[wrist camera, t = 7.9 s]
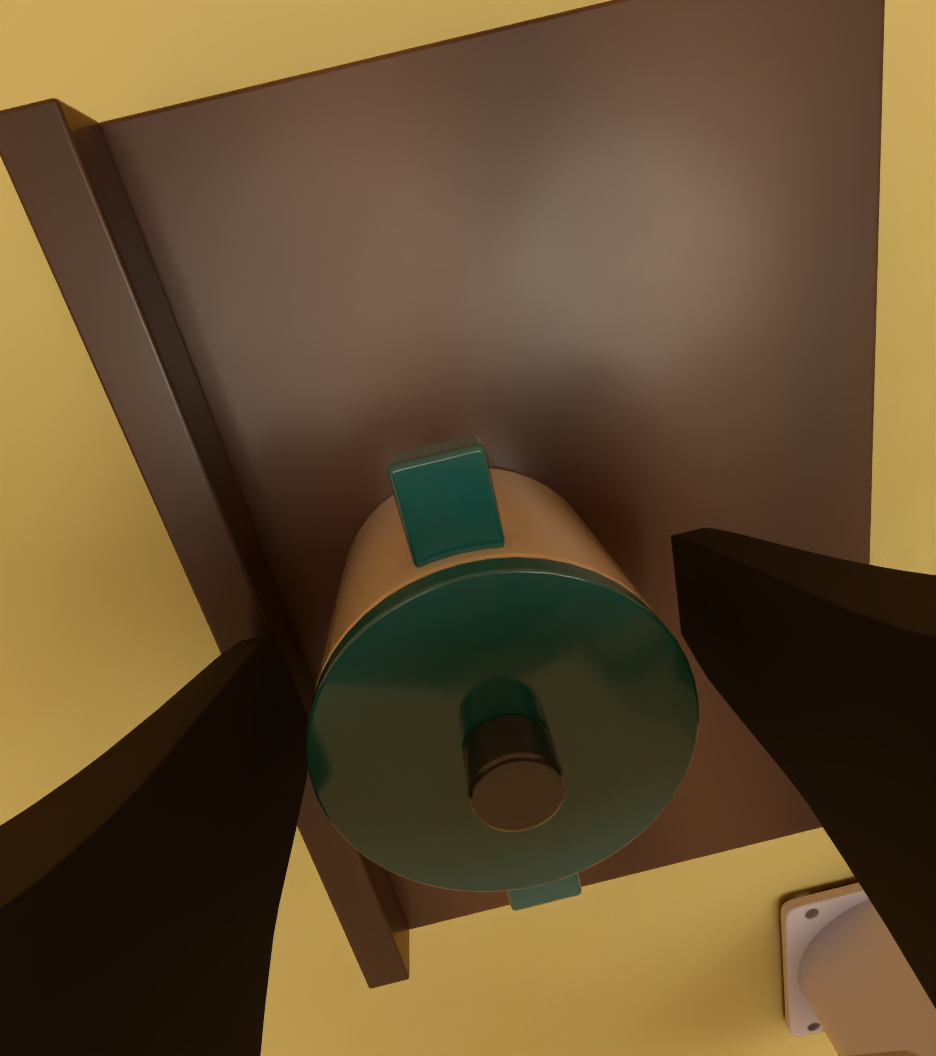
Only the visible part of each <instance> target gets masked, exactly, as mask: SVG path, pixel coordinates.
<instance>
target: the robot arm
mask: <svg viewBox="0 0 936 1056" xmlns="http://www.w3.org/2000/svg"><path fill="white" fill-rule="evenodd" d="M671 544H672V553H673V562H674V572H675V581H676V590H677V600H678V609H679V618H680V628H681V635H682V636H683V638H684V640H685V642H686V643H687V645H688V647H689V649H690V650H691V652H692V654H693V655H694V657H695V659H696V661H697V662H698V664H699V665H700V667H701V669H702V670H703V672H704V673H705V675H706V677H707V678H708V680H709V681H710V682H711V683H712V685H713V686H714V687H715V689H716V690H717V691H718V692H719V694H720V695H721V696H722V697H723V699H724V700H725V701H726V702H727V704H728V705H729V706H730V707H731V708H732V710H733V711H734V712H735V713H736V715H737V716H738V717H739V718H740V720H741V721H742V722H743V723H744V724H745V726H746V727H747V728H748V729H749V731H750V732H751V733H752V734H753V735H754V737H755V738H756V739H757V740H758V742H759V743H760V744H761V745H762V747H763V748H764V749H765V750H766V751H767V753H768V754H769V755H770V756H771V758H772V759H773V760H774V761H775V762H776V764H777V765H778V766H779V767H780V769H781V770H782V771H783V772H784V773H785V775H786V776H787V777H788V778H789V780H790V781H791V782H792V784H793V785H794V786H795V788H796V789H797V790H798V792H799V793H800V794H801V796H802V797H803V798H804V800H805V801H806V802H807V804H808V805H809V807H810V808H811V810H812V811H813V813H814V814H815V816H816V818H817V819H818V821H819V822H820V824H821V825H822V827H823V828H824V830H825V831H826V833H827V834H828V836H829V837H830V839H831V840H832V842H833V843H834V845H835V846H836V848H837V849H838V851H839V852H840V854H841V855H842V857H843V858H844V860H845V862H846V863H847V865H848V866H849V868H850V870H851V871H852V873H853V874H854V876H855V877H856V879H857V881H858V883H854V884H850V885H846V886H842V887H838V888H834V889H830V890H826V891H822V892H818V893H814V894H810V895H806V896H802V897H798V898H794V899H791V900H788V901H787V902H785V903H784V904H783V906H782V908H781V930H782V953H783V975H784V998H785V1020H786V1026H787V1028H788V1029H789V1031H790V1033H791V1034H792V1035H793V1036H797V1037H800V1036H805V1035H809V1034H813V1033H817V1032H821V1031H825V1032H826V1034H827V1036H828V1038H829V1039H830V1041H831V1043H832V1045H833V1047H834V1048H835V1050H836V1052H837V1054H838V1055H839V1056H936V575H929V574H922V573H915V572H908V571H902V570H896V569H890V568H884V567H879V566H874V565H869V564H864V563H859V562H854V561H849V560H844V559H839V558H835V557H831V556H826V555H822V554H818V553H813V552H809V551H805V550H801V549H797V548H793V547H789V546H785V545H781V544H777V543H774V542H770V541H766V540H762V539H758V538H754V537H750V536H746V535H742V534H738V533H734V532H729V531H725V530H720V529H714V528H705V527H704V528H700V529H696V530H692V531H688V532H684V533H680V534H675V535H671ZM307 725H308V717H307V714H306V712H305V709H304V707H303V704H302V701H301V699H300V696H299V694H298V691H297V689H296V686H295V684H294V681H293V679H292V676H291V674H290V671H289V669H288V666H287V664H286V661H285V659H284V656H283V654H282V651H281V649H280V646H279V644H278V641H277V639H276V636H275V634H274V633H271V634H267V635H263V636H259V637H255V638H250V639H246V640H242V641H240V642H238V643H236V644H235V645H233V646H232V647H231V648H229V649H228V650H227V651H225V652H224V653H223V654H221V655H220V656H219V657H218V658H217V659H215V660H214V661H213V662H212V663H211V664H209V665H208V666H207V667H206V668H205V669H204V670H202V671H201V672H200V673H199V674H198V675H197V676H196V677H194V678H193V679H192V680H191V681H190V682H189V683H188V684H186V685H185V686H184V687H183V688H182V689H181V690H179V691H178V692H177V693H176V694H175V695H174V696H173V697H171V698H170V699H169V700H168V701H167V702H166V703H165V704H163V705H162V706H161V707H160V708H159V709H158V710H156V711H155V712H154V713H153V714H152V715H150V716H149V717H148V718H147V719H146V720H144V721H143V722H142V723H141V724H139V725H138V726H137V727H136V728H135V729H133V730H132V731H131V732H130V733H128V734H127V735H126V736H125V737H124V738H122V739H121V740H120V741H119V742H117V743H116V744H115V745H114V746H112V747H111V748H110V749H109V750H108V751H106V752H105V753H104V754H103V755H101V756H100V757H99V758H97V759H96V760H95V761H93V762H92V763H91V764H90V765H88V766H87V767H85V768H84V769H83V770H81V771H80V772H79V773H77V774H76V775H75V776H73V777H72V778H71V779H69V780H68V781H66V782H65V783H63V784H62V785H61V786H59V787H58V788H56V789H55V790H53V791H52V792H51V793H49V794H48V795H46V796H45V797H43V798H42V799H41V800H39V801H38V802H36V803H35V804H33V805H32V806H30V807H29V808H27V809H26V810H24V811H23V812H21V813H20V814H18V815H16V816H15V817H13V818H12V819H10V820H8V821H7V822H5V823H4V824H2V825H0V1056H260V1053H261V1043H262V1033H263V1022H264V1012H265V1002H266V994H267V986H268V977H269V969H270V961H271V952H272V944H273V936H274V930H275V924H276V919H277V913H278V908H279V903H280V898H281V894H282V889H283V885H284V880H285V876H286V871H287V867H288V863H289V858H290V854H291V849H292V845H293V840H294V836H295V831H296V827H297V823H298V818H299V813H300V809H301V804H302V799H303V795H304V790H305V785H306V780H307V773H308V765H307V758H306V730H307Z"/></svg>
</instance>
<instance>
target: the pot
mask: <svg viewBox="0 0 936 1056" xmlns="http://www.w3.org/2000/svg"><path fill="white" fill-rule="evenodd" d="M388 476H389V480H390V483H391V487H392V490H393V495H392V496H391V497H389V498H388V499H387V500H386V501H384V502H383V503H382V504H381V505H380V506H379V507H378V508H377V509H376V510H375V511H374V512H373V513H372V514H371V515H370V516H369V517H368V518H367V520H366V521H365V523H364V524H363V526H362V527H361V528H360V530H359V531H358V533H357V535H356V537H355V539H354V541H353V543H352V544H351V546H350V549H349V552H348V555H347V558H346V561H345V564H344V568H343V572H342V576H341V581H340V585H339V589H338V594H337V598H336V602H335V606H334V611H333V615H332V619H331V623H330V628H329V632H328V636H327V640H326V645H325V649H324V653H323V657H322V662H321V666H320V670H319V675H318V679H317V683H316V687H315V693H314V696H313V700H312V704H311V709H310V714H309V719H308V725H307V730H306V758H307V765H308V771H309V776H310V779H311V782H312V785H313V789H314V792H315V795H316V797H317V799H318V801H319V803H320V805H321V807H322V809H323V811H324V813H325V815H326V816H327V817H328V819H329V820H330V821H331V823H332V824H333V826H334V827H335V828H336V830H337V831H338V832H339V833H340V834H341V835H342V836H343V837H344V838H345V839H346V840H347V841H348V842H349V843H350V844H351V845H352V847H354V848H355V849H356V850H358V851H359V852H360V853H362V854H363V855H364V856H365V857H367V858H368V859H369V860H371V861H373V862H374V863H376V864H378V865H380V866H381V867H383V868H385V869H386V870H388V871H390V872H393V873H395V874H397V875H400V876H402V877H404V878H407V879H409V880H412V881H416V882H419V883H422V884H426V885H429V886H434V887H439V888H444V889H449V890H458V891H469V892H498V891H507V894H508V898H509V901H510V905H511V907H512V909H513V910H515V911H517V910H521V909H525V908H529V907H533V906H537V905H541V904H545V903H549V902H553V901H557V900H561V899H565V898H569V897H573V896H577V895H579V894H581V885H580V880H579V876H578V872H581V871H583V870H586V869H588V868H589V867H591V866H593V865H595V864H597V863H599V862H601V861H603V860H605V859H607V858H608V857H610V856H611V855H613V854H614V853H616V852H617V851H619V850H620V849H622V848H623V847H625V846H626V845H627V844H629V843H630V842H631V841H632V840H634V839H635V838H636V837H637V836H638V835H640V834H641V833H642V832H643V831H644V830H645V829H646V828H647V827H648V826H649V825H650V824H651V823H652V822H653V821H654V820H655V819H656V818H657V817H658V816H659V814H660V813H661V812H662V811H663V809H664V808H665V807H666V806H667V804H668V803H669V802H670V801H671V799H672V797H673V796H674V794H675V793H676V791H677V789H678V788H679V786H680V784H681V783H682V781H683V778H684V776H685V774H686V772H687V770H688V767H689V765H690V763H691V759H692V756H693V752H694V749H695V746H696V741H697V734H698V726H699V700H698V695H697V689H696V684H695V679H694V676H693V673H692V670H691V668H690V665H689V662H688V659H687V658H686V656H685V654H684V652H683V650H682V649H681V647H680V645H679V643H678V641H677V640H676V639H675V637H674V636H673V635H672V634H671V632H670V631H669V630H668V628H667V627H666V626H665V625H664V623H663V622H662V621H661V620H660V618H659V617H658V616H657V614H656V613H655V612H654V611H653V609H652V608H651V607H650V605H649V604H648V603H647V602H646V600H645V599H644V598H643V597H642V595H641V594H640V593H639V591H638V590H637V589H636V588H635V586H634V585H633V584H632V583H631V581H630V580H629V579H628V577H627V576H626V575H625V574H624V572H623V571H622V570H621V568H620V567H619V566H618V565H617V563H616V562H615V561H614V560H613V558H612V557H611V556H610V554H609V553H608V552H607V551H606V549H605V548H604V547H603V545H602V544H601V543H600V542H599V540H598V539H597V538H596V537H595V535H594V534H593V533H592V531H591V530H590V529H589V528H588V526H587V525H586V524H585V522H584V521H583V520H582V519H581V517H580V516H579V515H578V514H577V512H576V511H575V510H574V509H573V507H572V506H571V505H570V504H568V503H567V502H566V501H565V500H564V499H563V498H562V497H561V496H560V495H558V494H557V493H556V492H554V491H553V490H551V489H550V488H548V487H547V486H545V485H543V484H541V483H539V482H537V481H536V480H534V479H532V478H529V477H526V476H523V475H520V474H518V473H515V472H510V471H505V470H501V469H493V468H489V464H488V459H487V455H486V450H485V448H484V446H483V444H482V442H481V440H480V438H479V437H478V435H473V434H471V435H467V436H463V437H459V438H455V439H451V440H447V441H443V442H439V443H434V444H430V445H426V446H422V447H418V448H414V449H410V450H406V451H402V452H397V453H394V454H392V455H391V456H389V464H388Z"/></svg>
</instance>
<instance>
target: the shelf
mask: <svg viewBox="0 0 936 1056" xmlns="http://www.w3.org/2000/svg"><path fill="white" fill-rule="evenodd" d="M884 7H885V0H611V1H607V2H603V3H599V4H594V5H590V6H586V7H582V8H578V9H573V10H569V11H565V12H561V13H557V14H552V15H548V16H544V17H540V18H536V19H532V20H527V21H523V22H519V23H515V24H511V25H506V26H502V27H498V28H494V29H490V30H485V31H481V32H477V33H473V34H469V35H464V36H460V37H456V38H452V39H448V40H443V41H439V42H435V43H431V44H427V45H423V46H418V47H414V48H410V49H406V50H402V51H397V52H393V53H389V54H385V55H381V56H376V57H372V58H368V59H364V60H360V61H355V62H351V63H347V64H343V65H339V66H335V67H330V68H326V69H322V70H318V71H314V72H309V73H305V74H301V75H297V76H293V77H288V78H284V79H280V80H276V81H272V82H267V83H263V84H259V85H255V86H251V87H246V88H242V89H238V90H234V91H230V92H226V93H221V94H217V95H213V96H209V97H205V98H200V99H196V100H192V101H188V102H184V103H179V104H175V105H171V106H167V107H163V108H158V109H154V110H150V111H146V112H142V113H138V114H133V115H129V116H125V117H121V118H117V119H112V120H108V121H104V122H100V123H98V122H97V121H95V120H94V119H92V118H90V117H88V116H87V115H85V114H83V113H81V112H79V111H78V110H76V109H74V108H72V107H71V106H69V105H67V104H65V103H63V102H62V101H60V100H58V99H55V98H52V99H47V100H43V101H39V102H35V103H31V104H26V105H22V106H18V107H14V108H10V109H5V110H1V111H0V156H1V158H2V160H3V162H4V165H5V167H6V169H7V171H8V174H9V176H10V178H11V180H12V183H13V185H14V187H15V189H16V192H17V194H18V196H19V199H20V201H21V203H22V205H23V208H24V210H25V212H26V214H27V217H28V219H29V221H30V223H31V226H32V228H33V230H34V232H35V235H36V237H37V239H38V241H39V244H40V246H41V248H42V250H43V253H44V255H45V257H46V259H47V262H48V264H49V266H50V268H51V271H52V273H53V275H54V278H55V280H56V282H57V284H58V287H59V289H60V291H61V293H62V296H63V298H64V300H65V302H66V305H67V307H68V309H69V311H70V314H71V316H72V318H73V320H74V323H75V325H76V327H77V329H78V332H79V334H80V336H81V338H82V341H83V343H84V345H85V347H86V350H87V352H88V354H89V357H90V359H91V361H92V363H93V366H94V368H95V370H96V372H97V375H98V377H99V379H100V381H101V384H102V386H103V388H104V390H105V393H106V395H107V397H108V399H109V402H110V404H111V406H112V408H113V411H114V413H115V415H116V417H117V420H118V422H119V424H120V426H121V429H122V431H123V433H124V436H125V438H126V440H127V442H128V445H129V447H130V449H131V451H132V454H133V456H134V458H135V460H136V463H137V465H138V467H139V469H140V472H141V474H142V476H143V478H144V481H145V483H146V485H147V487H148V490H149V492H150V494H151V496H152V499H153V501H154V503H155V505H156V508H157V510H158V512H159V515H160V517H161V519H162V521H163V524H164V526H165V528H166V530H167V533H168V535H169V537H170V539H171V542H172V544H173V546H174V548H175V551H176V553H177V555H178V557H179V560H180V562H181V564H182V566H183V569H184V571H185V573H186V575H187V578H188V580H189V582H190V584H191V587H192V589H193V591H194V594H195V596H196V598H197V600H198V603H199V605H200V607H201V609H202V612H203V614H204V616H205V618H206V621H207V623H208V625H209V627H210V630H211V632H212V634H213V636H214V639H215V641H216V643H217V645H218V648H219V650H220V652H221V654H223V653H224V652H225V651H227V650H228V649H229V648H231V647H232V646H233V645H235V644H236V643H238V642H240V641H242V640H246V639H250V638H255V637H259V636H263V635H267V634H271V633H274V634H275V636H276V639H277V641H278V644H279V646H280V649H281V651H282V654H283V656H284V659H285V661H286V664H287V666H288V669H289V671H290V674H291V676H292V679H293V681H294V684H295V686H296V689H297V691H298V694H299V696H300V699H301V701H302V704H303V707H304V709H305V712H306V714H307V717H308V719H309V714H310V709H311V704H312V700H313V696H314V693H315V687H316V683H317V679H318V675H319V670H320V666H321V662H322V657H323V653H324V649H325V645H326V640H327V636H328V632H329V628H330V623H331V619H332V615H333V611H334V606H335V602H336V598H337V594H338V589H339V585H340V581H341V576H342V572H343V568H344V564H345V561H346V558H347V555H348V552H349V549H350V546H351V544H352V543H353V541H354V539H355V537H356V535H357V533H358V531H359V530H360V528H361V527H362V526H363V524H364V523H365V521H366V520H367V518H368V517H369V516H370V515H371V514H372V513H373V512H374V511H375V510H376V509H377V508H378V507H379V506H380V505H381V504H382V503H383V502H384V501H386V500H387V499H388V498H389V497H391V496H392V495H393V490H392V487H391V483H390V480H389V476H388V464H389V456H391V455H392V454H394V453H397V452H402V451H406V450H410V449H414V448H418V447H422V446H426V445H430V444H434V443H439V442H443V441H447V440H451V439H455V438H459V437H463V436H467V435H471V434H473V435H478V437H479V438H480V440H481V442H482V444H483V446H484V448H485V450H486V455H487V459H488V464H489V468H493V469H501V470H505V471H510V472H515V473H518V474H520V475H523V476H526V477H529V478H532V479H534V480H536V481H537V482H539V483H541V484H543V485H545V486H547V487H548V488H550V489H551V490H553V491H554V492H556V493H557V494H558V495H560V496H561V497H562V498H563V499H564V500H565V501H566V502H567V503H568V504H570V505H571V506H572V507H573V509H574V510H575V511H576V512H577V514H578V515H579V516H580V517H581V519H582V520H583V521H584V522H585V524H586V525H587V526H588V528H589V529H590V530H591V531H592V533H593V534H594V535H595V537H596V538H597V539H598V540H599V542H600V543H601V544H602V545H603V547H604V548H605V549H606V551H607V552H608V553H609V554H610V556H611V557H612V558H613V560H614V561H615V562H616V563H617V565H618V566H619V567H620V568H621V570H622V571H623V572H624V574H625V575H626V576H627V577H628V579H629V580H630V581H631V583H632V584H633V585H634V586H635V588H636V589H637V590H638V591H639V593H640V594H641V595H642V597H643V598H644V599H645V600H646V602H647V603H648V604H649V605H650V607H651V608H652V609H653V611H654V612H655V613H656V614H657V616H658V617H659V618H660V620H661V621H662V622H663V623H664V625H665V626H666V627H667V628H668V630H669V631H670V632H671V634H672V635H673V636H674V637H675V639H676V640H677V641H678V643H679V645H680V647H681V649H682V650H683V652H684V654H685V656H686V658H687V659H688V662H689V665H690V668H691V670H692V673H693V676H694V679H695V684H696V689H697V695H698V700H699V726H698V734H697V741H696V746H695V749H694V752H693V756H692V759H691V763H690V765H689V767H688V770H687V772H686V774H685V776H684V778H683V781H682V783H681V784H680V786H679V788H678V789H677V791H676V793H675V794H674V796H673V797H672V799H671V801H670V802H669V803H668V804H667V806H666V807H665V808H664V809H663V811H662V812H661V813H660V814H659V816H658V817H657V818H656V819H655V820H654V821H653V822H652V823H651V824H650V825H649V826H648V827H647V828H646V829H645V830H644V831H643V832H642V833H641V834H640V835H638V836H637V837H636V838H635V839H634V840H632V841H631V842H630V843H629V844H627V845H626V846H625V847H623V848H622V849H620V850H619V851H617V852H616V853H614V854H613V855H611V856H610V857H608V858H607V859H605V860H603V861H601V862H599V863H597V864H595V865H593V866H591V867H589V868H588V869H586V870H583V871H581V872H578V876H579V880H580V885H581V887H583V886H587V885H591V884H595V883H599V882H603V881H607V880H611V879H615V878H619V877H623V876H627V875H631V874H635V873H639V872H643V871H647V870H651V869H655V868H659V867H663V866H667V865H671V864H675V863H679V862H683V861H687V860H691V859H695V858H699V857H703V856H707V855H711V854H715V853H719V852H723V851H727V850H731V849H735V848H739V847H743V846H747V845H752V844H756V843H760V842H764V841H768V840H772V839H776V838H780V837H784V836H788V835H792V834H796V833H800V832H804V831H808V830H812V829H816V828H820V827H822V825H821V824H820V822H819V821H818V819H817V818H816V816H815V814H814V813H813V811H812V810H811V808H810V807H809V805H808V804H807V802H806V801H805V800H804V798H803V797H802V796H801V794H800V793H799V792H798V790H797V789H796V788H795V786H794V785H793V784H792V782H791V781H790V780H789V778H788V777H787V776H786V775H785V773H784V772H783V771H782V770H781V769H780V767H779V766H778V765H777V764H776V762H775V761H774V760H773V759H772V758H771V756H770V755H769V754H768V753H767V751H766V750H765V749H764V748H763V747H762V745H761V744H760V743H759V742H758V740H757V739H756V738H755V737H754V735H753V734H752V733H751V732H750V731H749V729H748V728H747V727H746V726H745V724H744V723H743V722H742V721H741V720H740V718H739V717H738V716H737V715H736V713H735V712H734V711H733V710H732V708H731V707H730V706H729V705H728V704H727V702H726V701H725V700H724V699H723V697H722V696H721V695H720V694H719V692H718V691H717V690H716V689H715V687H714V686H713V685H712V683H711V682H710V681H709V680H708V678H707V677H706V675H705V673H704V672H703V670H702V669H701V667H700V665H699V664H698V662H697V661H696V659H695V657H694V655H693V654H692V652H691V650H690V649H689V647H688V645H687V643H686V642H685V640H684V638H683V636H682V635H681V628H680V618H679V609H678V600H677V590H676V581H675V572H674V562H673V553H672V544H671V535H675V534H680V533H684V532H688V531H692V530H696V529H700V528H704V527H705V528H714V529H720V530H725V531H729V532H734V533H738V534H742V535H746V536H750V537H754V538H758V539H762V540H766V541H770V542H774V543H777V544H781V545H785V546H789V547H793V548H797V549H801V550H805V551H809V552H813V553H818V554H822V555H826V556H831V557H835V558H839V559H844V560H849V561H854V562H859V563H864V564H870V527H871V490H872V452H873V415H874V378H875V341H876V304H877V267H878V230H879V193H880V156H881V119H882V82H883V45H884ZM297 826H298V828H299V830H300V833H301V835H302V837H303V840H304V842H305V844H306V846H307V849H308V851H309V853H310V855H311V858H312V860H313V862H314V864H315V867H316V869H317V871H318V873H319V876H320V878H321V880H322V882H323V885H324V887H325V889H326V891H327V894H328V896H329V898H330V900H331V903H332V905H333V907H334V909H335V912H336V914H337V916H338V919H339V921H340V923H341V925H342V928H343V930H344V932H345V934H346V937H347V939H348V941H349V943H350V946H351V948H352V950H353V952H354V955H355V957H356V959H357V961H358V964H359V966H360V968H361V970H362V973H363V975H364V977H365V979H366V982H367V984H368V986H369V988H375V987H379V986H383V985H387V984H391V983H395V982H399V981H403V980H407V979H409V930H410V929H414V928H418V927H422V926H426V925H430V924H434V923H438V922H442V921H446V920H450V919H454V918H458V917H462V916H466V915H470V914H474V913H478V912H482V911H486V910H490V909H494V908H498V907H502V906H506V905H510V901H509V898H508V894H507V891H498V892H469V891H458V890H449V889H444V888H439V887H434V886H429V885H426V884H422V883H419V882H416V881H412V880H409V879H407V878H404V877H402V876H400V875H397V874H395V873H393V872H390V871H388V870H386V869H385V868H383V867H381V866H380V865H378V864H376V863H374V862H373V861H371V860H369V859H368V858H367V857H365V856H364V855H363V854H362V853H360V852H359V851H358V850H356V849H355V848H354V847H352V845H351V844H350V843H349V842H348V841H347V840H346V839H345V838H344V837H343V836H342V835H341V834H340V833H339V832H338V831H337V830H336V828H335V827H334V826H333V824H332V823H331V821H330V820H329V819H328V817H327V816H326V815H325V813H324V811H323V809H322V807H321V805H320V803H319V801H318V799H317V797H316V795H315V792H314V789H313V785H312V782H311V779H310V776H309V771H308V773H307V780H306V785H305V790H304V795H303V799H302V804H301V809H300V813H299V818H298V823H297Z"/></svg>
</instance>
